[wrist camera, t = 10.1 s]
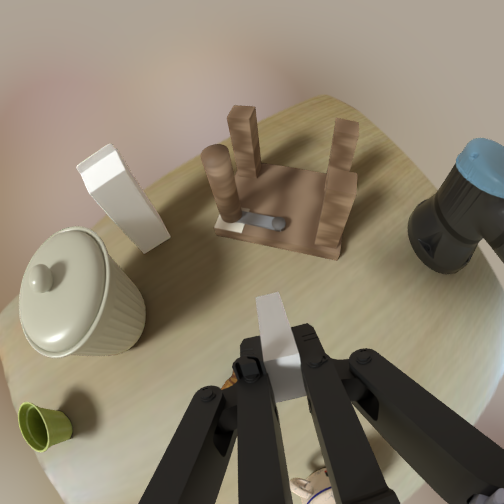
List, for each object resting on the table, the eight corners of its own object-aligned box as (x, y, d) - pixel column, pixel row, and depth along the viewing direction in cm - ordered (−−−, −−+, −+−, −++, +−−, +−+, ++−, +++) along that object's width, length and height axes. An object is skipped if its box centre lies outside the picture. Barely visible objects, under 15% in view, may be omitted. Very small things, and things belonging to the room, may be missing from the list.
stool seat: (346, 186, 50) (363, 120, 35) (336, 260, 44) (361, 201, 29) (243, 168, 54) (231, 102, 39) (216, 235, 48) (190, 172, 33)
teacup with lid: (368, 475, 28) (395, 501, 17) (333, 515, 25) (348, 550, 14) (305, 448, 31) (315, 474, 21) (270, 490, 28) (267, 525, 18)
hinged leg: (287, 217, 44) (289, 153, 31) (282, 236, 43) (282, 174, 30) (225, 205, 47) (207, 143, 34) (218, 222, 45) (196, 162, 32)
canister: (141, 387, 37) (48, 382, 18) (69, 342, 41) (-15, 311, 22) (179, 288, 44) (114, 221, 25) (103, 260, 48) (35, 199, 29)
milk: (135, 231, 50) (73, 156, 30) (160, 215, 51) (107, 132, 31) (144, 255, 48) (76, 179, 28) (172, 237, 49) (114, 152, 29)
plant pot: (85, 447, 32) (55, 453, 24) (55, 447, 31) (26, 450, 23) (71, 401, 36) (40, 400, 28) (43, 405, 35) (13, 402, 28)
